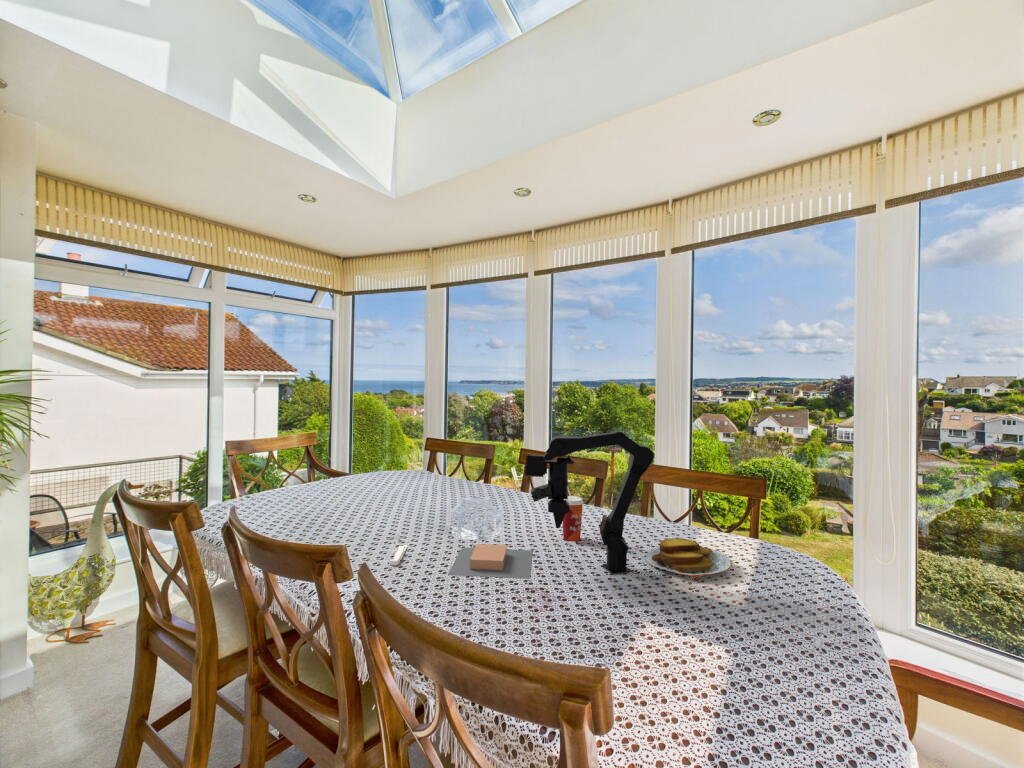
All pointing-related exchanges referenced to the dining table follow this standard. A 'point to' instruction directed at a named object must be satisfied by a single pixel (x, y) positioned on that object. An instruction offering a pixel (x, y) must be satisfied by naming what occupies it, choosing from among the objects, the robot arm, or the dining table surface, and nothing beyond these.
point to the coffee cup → (573, 519)
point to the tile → (488, 557)
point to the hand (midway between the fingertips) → (557, 527)
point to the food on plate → (688, 558)
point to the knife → (398, 555)
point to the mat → (513, 568)
